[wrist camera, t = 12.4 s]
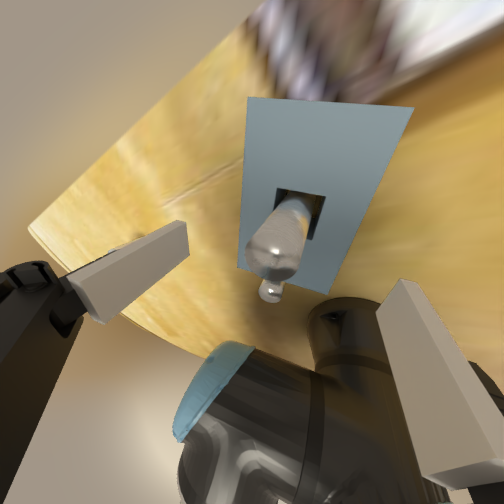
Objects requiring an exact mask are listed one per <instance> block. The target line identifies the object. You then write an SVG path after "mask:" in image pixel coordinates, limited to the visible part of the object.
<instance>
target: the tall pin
mask: <svg viewBox="0 0 504 504" xmlns="http://www.w3.org/2000/svg"><path fill="white" fill-rule="evenodd" d="M315 200H316V195H315V194H310V193H304V192H299V191H293V190H291V191H290V192H289V193H288V194H287V195H286V197H285V198H284V199H283V200H282V201H281V203H280V204H279V205H278V206H277V208H276V209H275V210H274V211H273V212H272V214H271V215H270V216H269V217H268V218H267V220H266V221H265V222H264V223H263V224H262V226H261V227H260V228H259V229H258V230H257V232H256V233H255V234H254V235H253V236H252V238H251V239H250V240H249V241H248V243H247V245H246V247H245V260H246V262H247V264H248V266H249V268H250V269H251V270H252V271H253V272H254V273H255V274H256V275H257V276H259V277H261V278H263V279H265V280H268V281H274V282H279V281H284V280H287V279H289V278H291V277H292V276H293V275H295V273H296V272H297V270H298V268H299V265H300V261H301V257H302V253H303V248H304V244H305V240H306V236H307V232H308V228H309V224H310V220H311V216H312V212H313V208H314V204H315Z"/></svg>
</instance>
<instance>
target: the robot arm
mask: <svg viewBox="0 0 504 504" xmlns="http://www.w3.org/2000/svg"><path fill="white" fill-rule="evenodd" d="M189 255H190V254H189V245H188V236H187V227H186V222H183V221H179V220H176V221H174V222H172V223H170V224H168V225H166V226H164V227H162V228H160V229H158V230H156V231H154V232H152V233H150V234H148V235H146V236H144V237H142V238H140V239H138V240H136V241H135V242H133V243H131V244H129V245H127V246H125V247H123V248H121V249H118V250H115V251H112V252H110V253H108V254H106V255H104V256H103V257H100V258H98V259H96V260H95V261H92V262H90V263H88V264H86V265H84V266H82V267H80V268H78V269H76V270H74V271H72V272H70V273H68V274H67V275H65V276H63V277H60V278H58V277H57V276H56V274H55V273H54V271H53V270H52V268H51V267H50V265H49V264H48V262H45V261H31V262H25V263H22V264H19V265H16V266H13V267H11V268H9V269H7V270H6V271H4V272H2V273H0V504H3V502H4V500H5V498H6V495H7V493H8V490H9V489H10V486H11V484H12V482H13V480H14V477H15V475H16V473H17V470H18V468H19V466H20V464H21V461H22V459H23V457H24V454H25V452H26V450H27V448H28V446H29V443H30V441H31V439H32V437H33V434H34V432H35V430H36V428H37V425H38V423H39V420H40V418H41V416H42V414H43V412H44V409H45V407H46V405H47V403H48V400H49V398H50V396H51V393H52V391H53V389H54V387H55V384H56V382H57V380H58V378H59V375H60V373H61V371H62V368H63V366H64V364H65V362H66V359H67V357H68V355H69V353H70V350H71V348H72V346H73V344H74V341H75V339H76V337H77V335H78V332H79V330H80V328H81V325H82V323H83V320H84V317H83V316H82V315H83V314H84V313H86V312H87V311H88V313H89V314H90V316H91V318H92V319H93V320H95V321H97V322H99V323H101V324H103V325H105V324H106V323H107V322H108V321H110V320H111V319H112V318H113V317H115V316H116V315H117V314H118V313H119V312H121V311H122V310H123V309H124V308H126V307H127V306H128V305H129V304H130V303H132V302H133V301H134V300H135V299H137V298H138V297H139V296H140V295H142V294H143V293H144V292H145V291H146V290H148V289H149V288H150V287H151V286H153V285H154V284H155V283H156V282H157V281H159V280H160V279H161V278H162V277H164V276H165V275H166V274H167V273H168V272H170V271H171V270H172V269H173V268H175V267H176V266H177V265H178V264H179V263H181V262H182V261H183V260H184V259H186V258H187V257H188V256H189ZM307 335H308V339H309V343H310V346H311V350H312V354H313V358H314V362H315V372H314V371H311V370H309V369H307V368H304V367H302V366H299V365H296V364H294V363H291V362H289V361H286V360H284V359H281V358H279V357H276V356H273V355H271V354H268V353H266V352H263V351H261V350H258V349H256V348H255V346H251V347H250V346H247V345H244V344H241V343H238V342H235V341H225V342H223V343H221V344H220V345H218V346H217V347H216V348H215V349H214V350H213V351H212V352H211V354H210V355H209V356H208V357H207V359H206V360H205V361H204V363H203V364H202V366H201V367H200V369H199V370H198V372H197V373H196V375H195V376H194V378H193V380H192V382H191V383H190V385H189V387H188V389H187V391H186V392H185V395H184V396H183V398H182V401H181V403H180V405H179V407H178V410H177V412H176V415H175V418H174V422H173V427H172V428H173V435H174V437H176V439H177V442H180V443H185V446H184V449H183V452H182V455H181V458H180V461H179V465H178V471H177V484H178V490H179V494H180V497H181V502H180V504H278V499H280V500H282V501H284V502H285V503H287V504H453V502H451V501H450V498H449V495H448V492H447V489H449V490H451V491H452V490H459V489H466V488H468V490H469V493H470V495H471V498H472V500H473V503H474V504H504V395H503V394H502V392H501V391H500V390H499V388H498V387H497V385H496V384H495V382H494V381H493V380H492V379H491V378H490V377H489V376H488V375H487V374H486V373H485V372H484V371H483V370H482V369H481V368H480V367H479V366H478V365H477V364H476V363H474V362H471V361H468V360H467V359H466V358H465V356H464V355H463V353H462V352H461V350H460V348H459V347H458V345H457V344H456V342H455V341H454V339H453V338H452V336H451V334H450V333H449V331H448V330H447V328H446V327H445V325H444V324H443V322H442V321H441V319H440V317H439V316H438V314H437V313H436V311H435V310H434V308H433V307H432V305H431V303H430V302H429V300H428V299H427V297H426V296H425V294H424V293H423V291H422V289H421V288H420V286H419V285H418V283H416V282H412V281H409V280H405V279H401V278H400V279H399V281H398V282H397V284H396V285H395V286H394V288H393V289H392V290H391V292H390V293H389V295H388V296H387V297H386V299H385V300H384V302H383V303H382V304H381V305H380V304H378V303H375V302H372V301H369V300H364V299H358V298H338V299H332V300H329V301H326V302H323V303H321V304H320V305H318V306H317V307H315V308H314V309H313V310H312V312H311V313H310V315H309V318H308V325H307ZM446 488H447V489H446Z"/></svg>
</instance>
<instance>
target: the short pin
mask: <svg viewBox="0 0 504 504" xmlns="http://www.w3.org/2000/svg"><path fill="white" fill-rule="evenodd" d="M285 283H286V282H283V281H279V282H274V281H268V280H265V279H263V281H262V284H261V286H260V288H259V291H258V292H259V295H260V297H261V298H262V299H263V300H265V301H267V302H269V303H276V302H278V301H280V300H281V297H282V294H283V290H284V287H285Z"/></svg>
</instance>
